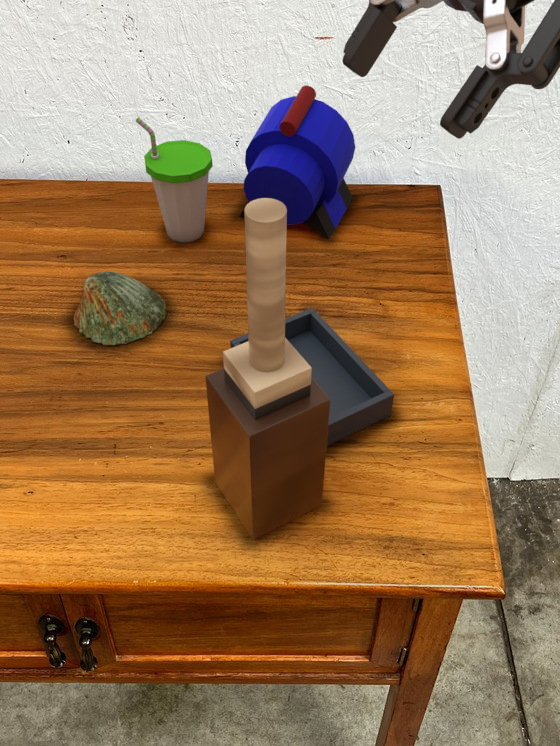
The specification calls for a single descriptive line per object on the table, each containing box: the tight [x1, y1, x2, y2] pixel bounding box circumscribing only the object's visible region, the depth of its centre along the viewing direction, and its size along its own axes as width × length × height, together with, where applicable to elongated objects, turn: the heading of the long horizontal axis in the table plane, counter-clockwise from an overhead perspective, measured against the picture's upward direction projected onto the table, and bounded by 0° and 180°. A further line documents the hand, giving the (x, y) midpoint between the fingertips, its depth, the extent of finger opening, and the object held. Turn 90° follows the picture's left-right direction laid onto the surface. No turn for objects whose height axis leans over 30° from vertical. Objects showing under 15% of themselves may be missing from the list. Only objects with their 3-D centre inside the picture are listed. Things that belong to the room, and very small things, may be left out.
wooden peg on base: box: [222, 198, 312, 420], centre depth 53 cm, size 5×5×16 cm
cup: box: [135, 116, 214, 244], centre depth 91 cm, size 8×8×15 cm
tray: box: [229, 307, 395, 447], centre depth 77 cm, size 14×10×3 cm
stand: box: [205, 367, 330, 541], centre depth 64 cm, size 7×7×14 cm
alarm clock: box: [239, 85, 356, 240], centre depth 94 cm, size 12×12×15 cm
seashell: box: [73, 271, 168, 347], centre depth 84 cm, size 10×4×10 cm
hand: (398, 100), depth 47 cm, fingers open, 8 cm apart
